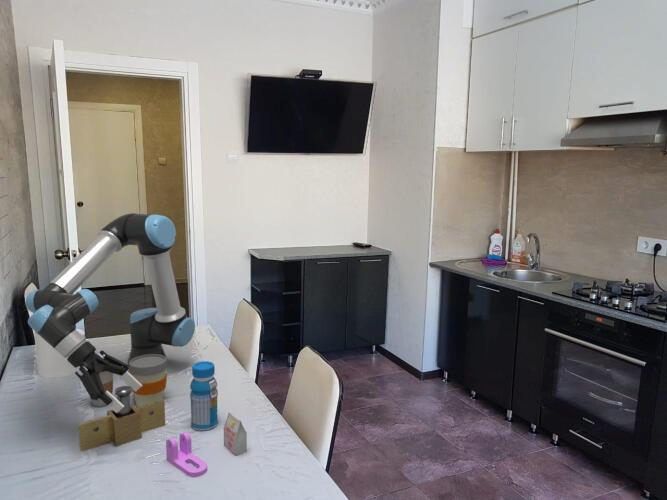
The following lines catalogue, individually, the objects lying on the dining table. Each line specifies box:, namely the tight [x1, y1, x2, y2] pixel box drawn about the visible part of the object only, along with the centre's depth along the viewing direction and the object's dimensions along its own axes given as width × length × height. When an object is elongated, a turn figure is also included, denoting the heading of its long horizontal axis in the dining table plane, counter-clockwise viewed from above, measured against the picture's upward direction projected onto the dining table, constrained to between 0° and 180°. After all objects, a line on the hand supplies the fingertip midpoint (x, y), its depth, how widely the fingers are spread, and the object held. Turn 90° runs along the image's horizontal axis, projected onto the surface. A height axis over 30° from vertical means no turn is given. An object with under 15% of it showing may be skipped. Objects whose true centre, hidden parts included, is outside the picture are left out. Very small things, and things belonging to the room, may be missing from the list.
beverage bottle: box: [189, 360, 219, 431], centre depth 156 cm, size 8×8×20 cm
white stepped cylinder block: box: [32, 312, 86, 378], centre depth 196 cm, size 17×17×28 cm
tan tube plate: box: [78, 399, 166, 452], centre depth 149 cm, size 24×7×8 cm, turn 130°
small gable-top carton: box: [223, 412, 248, 457], centre depth 143 cm, size 4×7×10 cm, turn 40°
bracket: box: [165, 431, 208, 478], centre depth 135 cm, size 13×6×7 cm, turn 49°
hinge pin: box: [114, 385, 133, 418], centre depth 149 cm, size 5×5×15 cm
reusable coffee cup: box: [128, 354, 168, 407], centre depth 171 cm, size 13×13×15 cm
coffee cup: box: [90, 371, 114, 408], centre depth 169 cm, size 8×8×15 cm
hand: (130, 398), depth 147 cm, fingers open, 13 cm apart
